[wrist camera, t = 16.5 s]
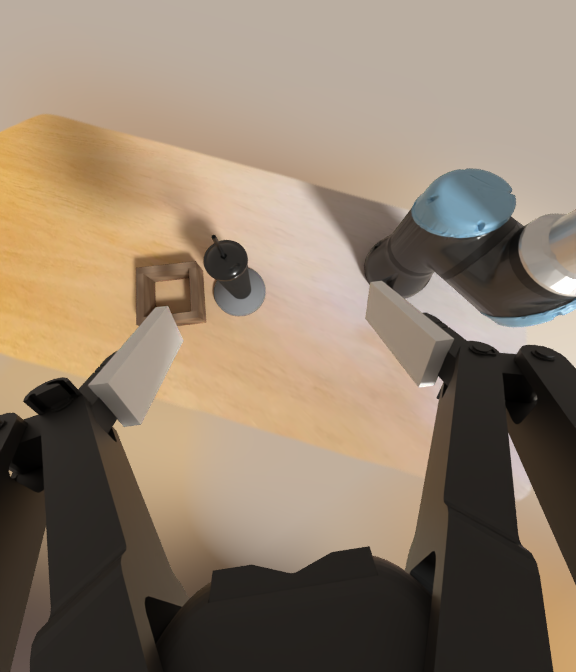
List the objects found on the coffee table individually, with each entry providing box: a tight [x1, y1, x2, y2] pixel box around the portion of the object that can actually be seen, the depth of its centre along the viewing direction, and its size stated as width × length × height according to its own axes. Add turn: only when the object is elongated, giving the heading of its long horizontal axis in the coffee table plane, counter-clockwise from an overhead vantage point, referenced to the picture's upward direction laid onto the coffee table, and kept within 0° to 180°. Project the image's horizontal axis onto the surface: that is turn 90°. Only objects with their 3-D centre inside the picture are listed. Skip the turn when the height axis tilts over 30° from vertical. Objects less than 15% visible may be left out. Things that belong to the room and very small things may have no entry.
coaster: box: [214, 268, 265, 316], centre depth 52 cm, size 12×12×1 cm
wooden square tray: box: [136, 261, 206, 326], centre depth 50 cm, size 13×13×4 cm
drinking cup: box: [204, 235, 251, 299], centre depth 42 cm, size 8×8×20 cm
